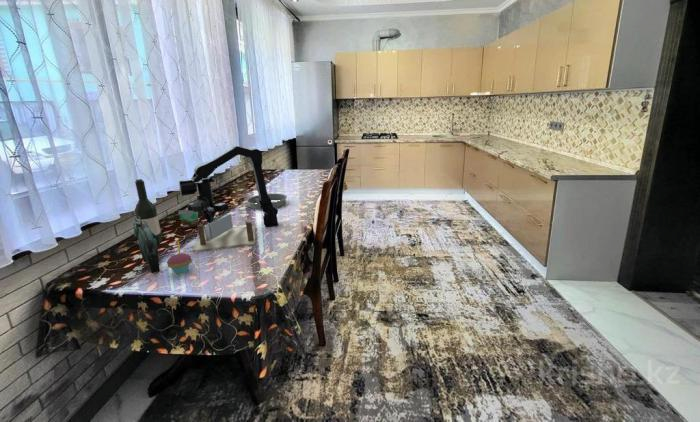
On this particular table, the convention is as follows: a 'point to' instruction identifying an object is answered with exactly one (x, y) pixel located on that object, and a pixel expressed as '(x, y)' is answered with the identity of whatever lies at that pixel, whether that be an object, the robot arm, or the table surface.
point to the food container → (188, 218)
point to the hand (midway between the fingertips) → (210, 224)
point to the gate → (218, 227)
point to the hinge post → (201, 234)
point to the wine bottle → (147, 210)
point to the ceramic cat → (147, 244)
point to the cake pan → (272, 197)
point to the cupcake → (179, 262)
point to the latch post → (249, 230)
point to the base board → (227, 240)
